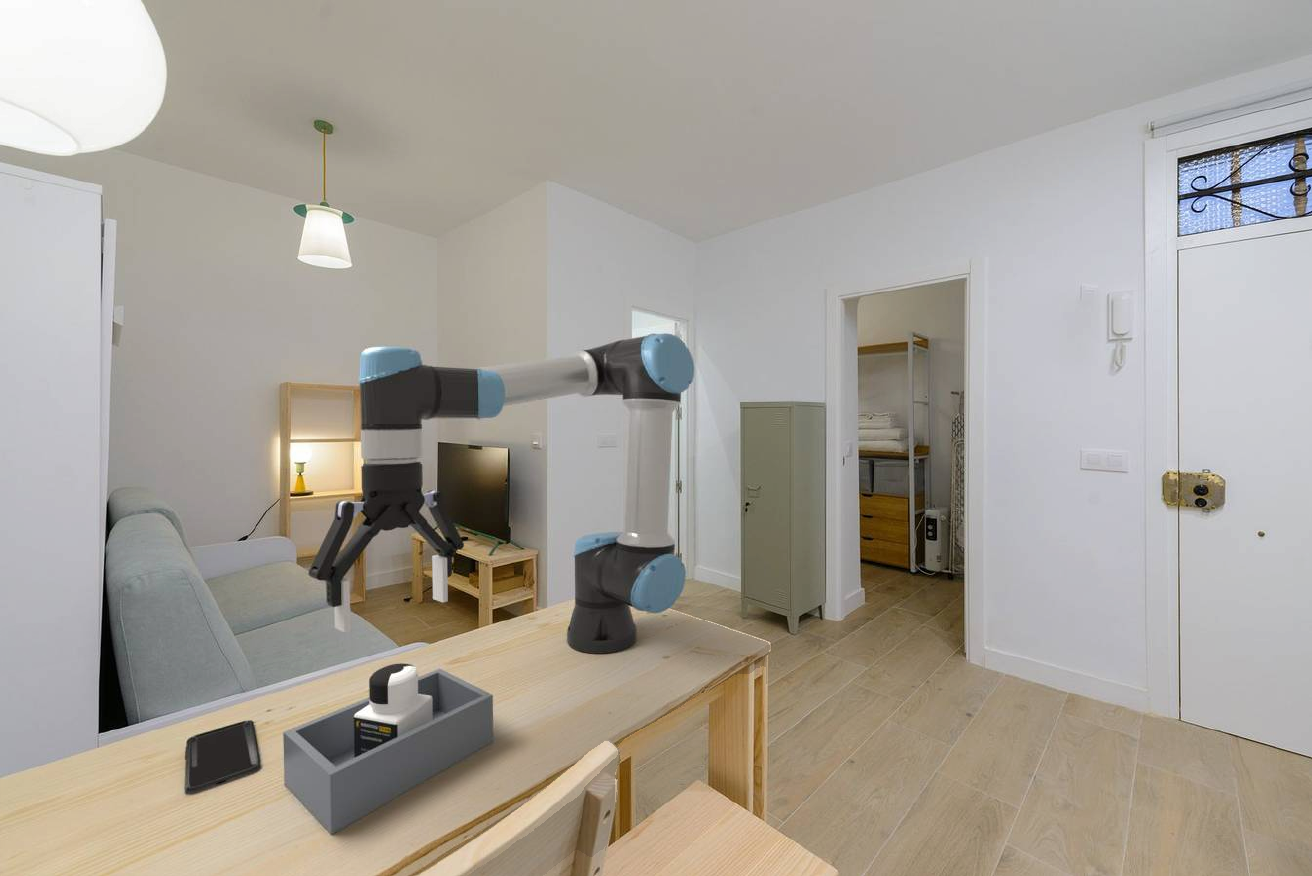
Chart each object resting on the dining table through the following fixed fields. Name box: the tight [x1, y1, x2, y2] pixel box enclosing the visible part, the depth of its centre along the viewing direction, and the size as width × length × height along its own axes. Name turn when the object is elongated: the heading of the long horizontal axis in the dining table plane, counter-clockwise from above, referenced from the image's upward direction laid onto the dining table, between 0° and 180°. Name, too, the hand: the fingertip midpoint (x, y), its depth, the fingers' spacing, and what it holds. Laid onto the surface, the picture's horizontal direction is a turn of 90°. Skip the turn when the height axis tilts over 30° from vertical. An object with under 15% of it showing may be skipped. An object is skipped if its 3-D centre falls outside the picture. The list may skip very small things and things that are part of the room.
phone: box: [184, 719, 261, 796], centre depth 74 cm, size 8×1×15 cm
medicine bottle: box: [354, 662, 433, 758], centre depth 73 cm, size 7×7×12 cm
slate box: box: [282, 668, 494, 836], centre depth 73 cm, size 22×14×7 cm, turn 143°
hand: (395, 613), depth 73 cm, fingers open, 13 cm apart
